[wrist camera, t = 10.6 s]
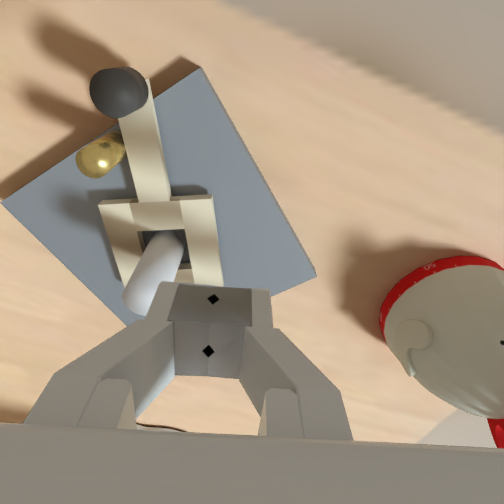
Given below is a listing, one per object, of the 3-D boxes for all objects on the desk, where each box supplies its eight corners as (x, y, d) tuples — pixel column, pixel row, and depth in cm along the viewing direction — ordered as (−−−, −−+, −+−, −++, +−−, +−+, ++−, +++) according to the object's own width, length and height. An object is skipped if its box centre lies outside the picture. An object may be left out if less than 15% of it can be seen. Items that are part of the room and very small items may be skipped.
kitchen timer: (538, 258, 33) (723, 394, 20) (481, 355, 40) (590, 501, 27) (398, 252, 32) (494, 387, 19) (366, 351, 39) (420, 497, 27)
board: (154, 338, 38) (127, 417, 30) (11, 195, 29) (-83, 252, 21) (314, 267, 33) (334, 339, 25) (201, 67, 24) (175, 76, 16)
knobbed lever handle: (223, 283, 32) (220, 311, 28) (130, 287, 32) (115, 316, 28) (195, 61, 22) (185, 64, 19) (62, 70, 22) (27, 74, 19)
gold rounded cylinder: (117, 161, 26) (91, 184, 22) (99, 138, 25) (68, 157, 21) (137, 149, 25) (114, 169, 21) (120, 125, 25) (92, 141, 20)
